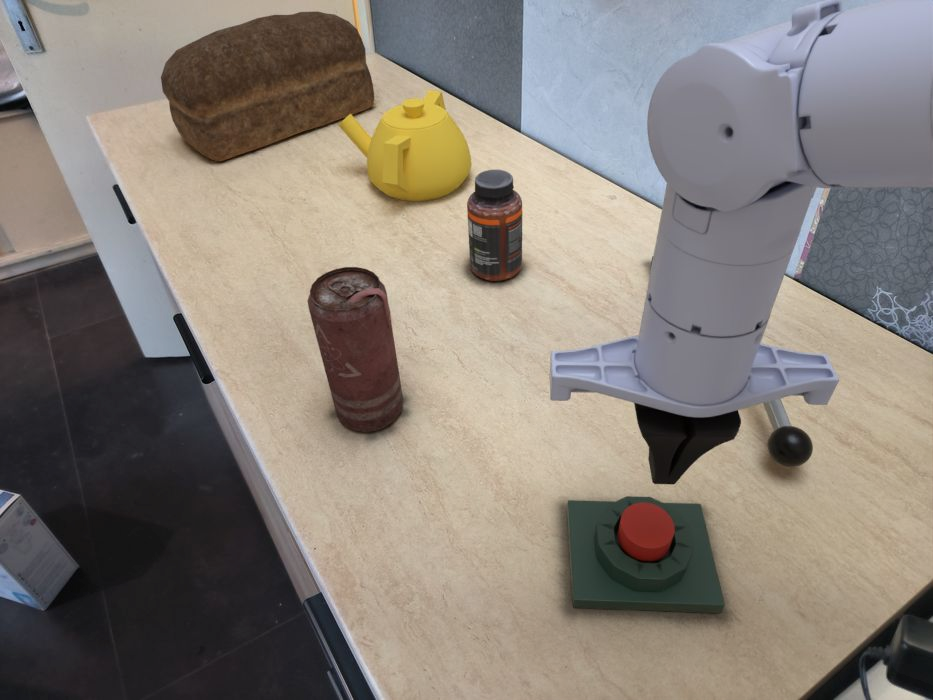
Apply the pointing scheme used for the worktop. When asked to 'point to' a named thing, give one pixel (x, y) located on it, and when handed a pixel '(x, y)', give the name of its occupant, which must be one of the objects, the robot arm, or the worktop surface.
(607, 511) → the button box
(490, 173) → the supplement bottle
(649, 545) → the button
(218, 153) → the bread
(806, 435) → the grey lever handle
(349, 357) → the can
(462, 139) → the teapot
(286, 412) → the worktop surface
